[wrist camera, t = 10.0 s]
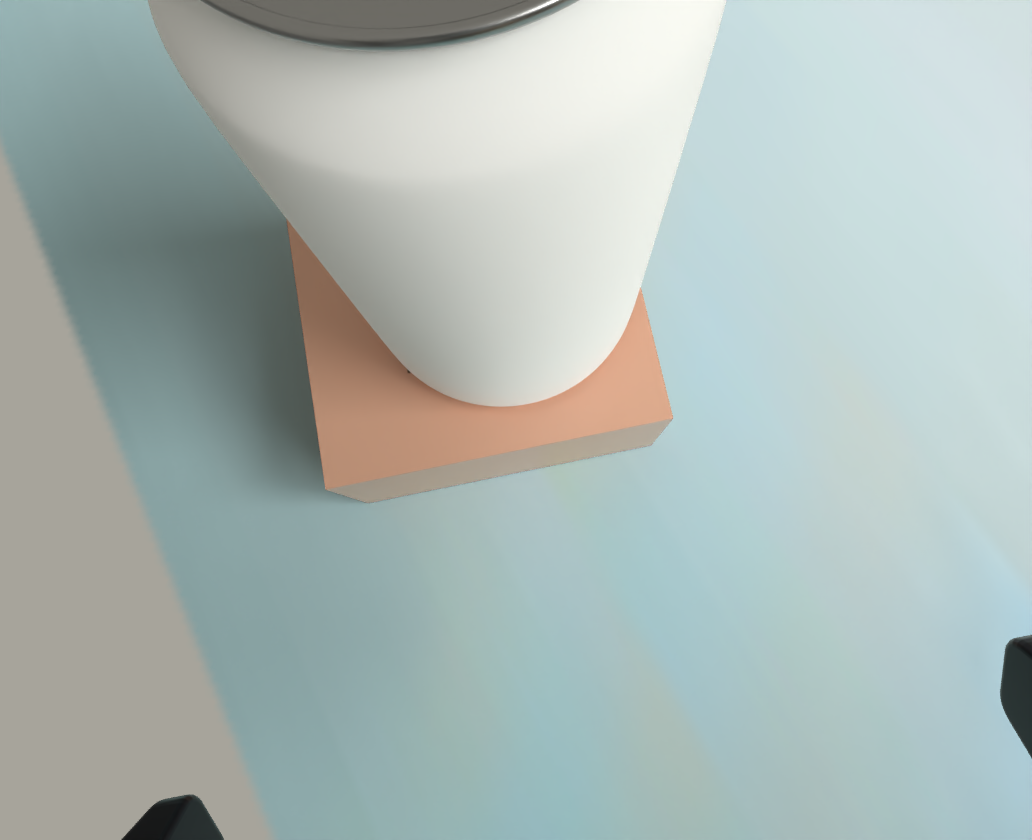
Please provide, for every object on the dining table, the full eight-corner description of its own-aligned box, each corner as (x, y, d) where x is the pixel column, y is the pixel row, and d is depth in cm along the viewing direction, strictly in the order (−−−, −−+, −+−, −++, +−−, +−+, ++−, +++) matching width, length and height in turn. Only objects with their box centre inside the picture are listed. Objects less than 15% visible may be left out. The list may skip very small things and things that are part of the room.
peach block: (651, 445, 21) (672, 418, 17) (368, 503, 21) (325, 489, 17) (589, 186, 23) (596, 107, 19) (327, 240, 23) (279, 173, 19)
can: (405, 149, 19) (152, -546, 7) (653, 184, 18) (833, -506, 6) (348, 387, 18) (-68, 34, 6) (613, 433, 17) (740, 146, 5)
